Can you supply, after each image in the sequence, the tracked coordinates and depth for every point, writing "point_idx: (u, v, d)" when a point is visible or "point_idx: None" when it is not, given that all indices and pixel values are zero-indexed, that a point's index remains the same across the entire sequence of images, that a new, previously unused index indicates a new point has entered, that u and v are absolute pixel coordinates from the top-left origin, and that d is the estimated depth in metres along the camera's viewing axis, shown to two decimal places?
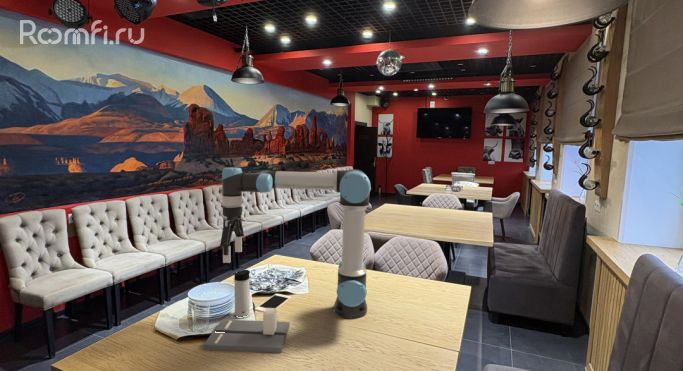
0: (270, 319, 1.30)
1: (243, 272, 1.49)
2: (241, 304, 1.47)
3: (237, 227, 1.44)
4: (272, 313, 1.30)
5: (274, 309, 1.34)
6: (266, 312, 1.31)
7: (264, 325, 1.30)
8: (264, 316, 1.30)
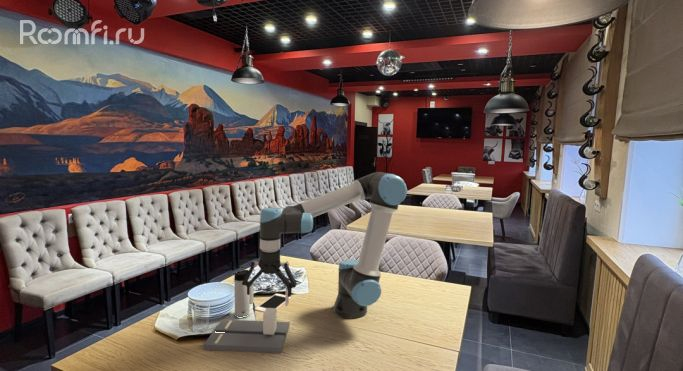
0: (270, 319, 1.30)
1: (243, 272, 1.49)
2: (241, 304, 1.47)
3: None
4: (272, 313, 1.30)
5: (274, 309, 1.34)
6: (266, 312, 1.31)
7: (264, 325, 1.30)
8: (264, 316, 1.30)
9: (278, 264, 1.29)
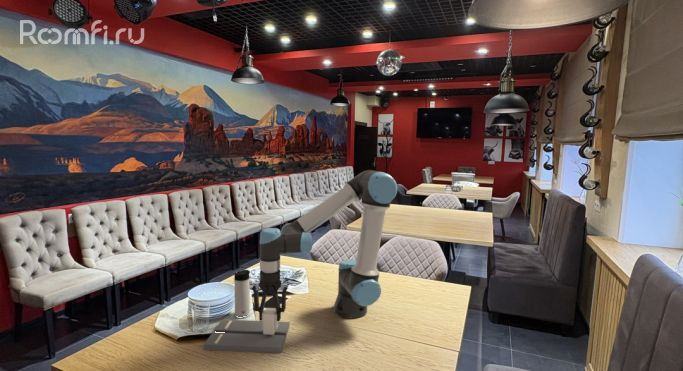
0: (270, 319, 1.30)
1: (243, 272, 1.49)
2: (241, 304, 1.47)
3: None
4: (272, 313, 1.30)
5: (274, 309, 1.34)
6: (266, 312, 1.31)
7: (264, 325, 1.30)
8: (264, 316, 1.30)
9: (279, 285, 1.30)
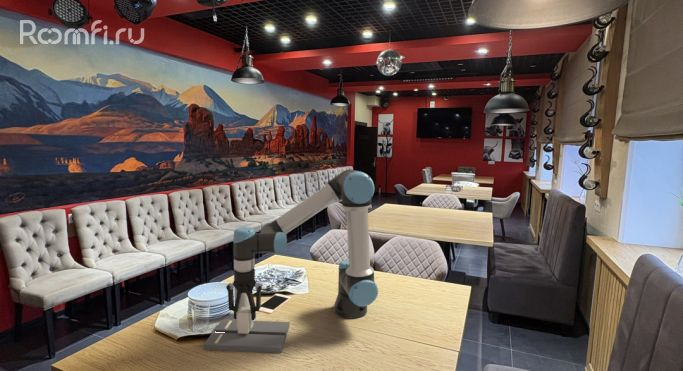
0: (244, 318, 1.30)
1: None
2: (241, 304, 1.47)
3: None
4: (246, 312, 1.31)
5: (249, 308, 1.34)
6: (241, 311, 1.31)
7: (238, 324, 1.30)
8: (238, 315, 1.30)
9: (253, 284, 1.30)
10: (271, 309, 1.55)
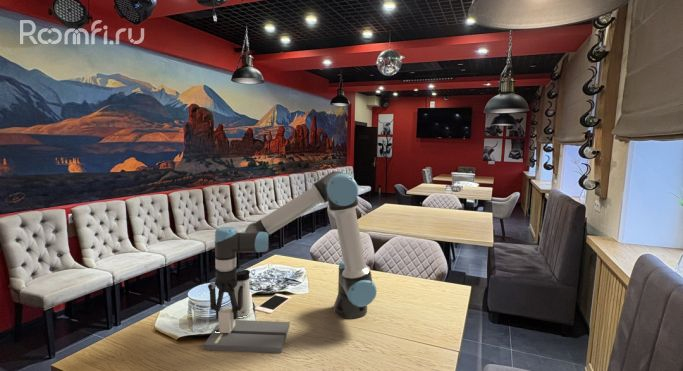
0: (226, 317, 1.30)
1: (243, 272, 1.49)
2: None
3: None
4: (228, 311, 1.31)
5: (231, 307, 1.34)
6: (222, 310, 1.31)
7: (220, 323, 1.31)
8: (220, 314, 1.30)
9: (234, 283, 1.30)
10: (271, 309, 1.55)
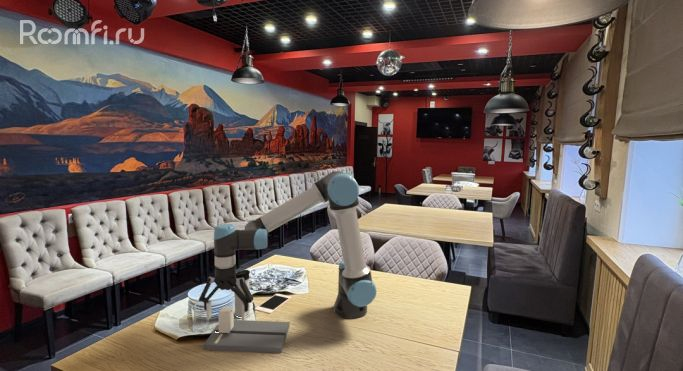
0: (225, 317, 1.30)
1: (243, 272, 1.49)
2: (241, 304, 1.47)
3: None
4: (227, 311, 1.31)
5: (230, 307, 1.34)
6: (222, 310, 1.31)
7: (219, 323, 1.31)
8: (219, 314, 1.30)
9: (233, 280, 1.30)
10: (271, 310, 1.55)
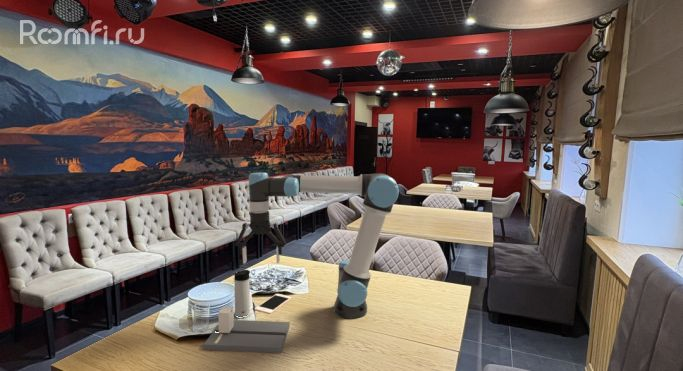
0: (225, 317, 1.30)
1: (243, 272, 1.49)
2: (241, 304, 1.47)
3: None
4: (227, 311, 1.31)
5: (230, 307, 1.34)
6: (222, 310, 1.31)
7: (219, 323, 1.31)
8: (219, 314, 1.30)
9: (268, 224, 1.39)
10: (271, 309, 1.55)
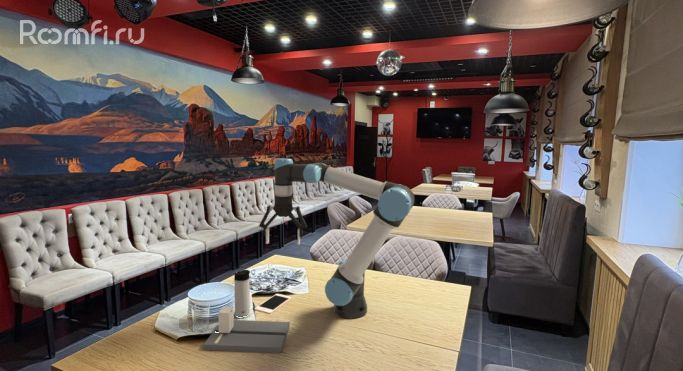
0: (225, 317, 1.30)
1: (243, 272, 1.49)
2: (241, 304, 1.47)
3: None
4: (227, 311, 1.31)
5: (230, 307, 1.34)
6: (222, 310, 1.31)
7: (219, 323, 1.31)
8: (219, 314, 1.30)
9: (291, 208, 1.46)
10: (271, 309, 1.55)
